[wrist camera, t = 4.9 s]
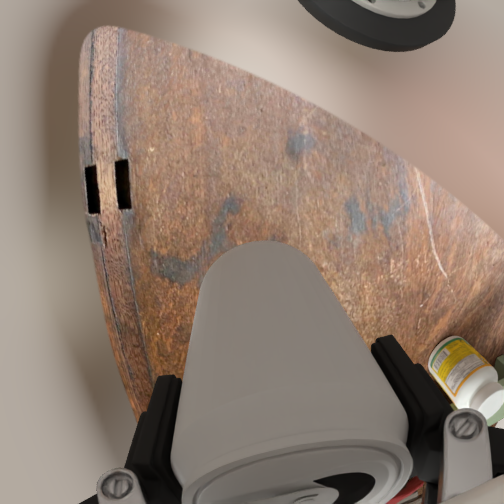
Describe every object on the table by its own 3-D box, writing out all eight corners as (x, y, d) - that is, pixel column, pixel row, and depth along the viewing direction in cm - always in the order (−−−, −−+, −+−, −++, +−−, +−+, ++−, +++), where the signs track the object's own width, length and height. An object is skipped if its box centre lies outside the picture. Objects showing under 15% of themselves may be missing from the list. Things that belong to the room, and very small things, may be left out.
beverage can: (322, 334, 18) (400, 517, 7) (212, 350, 18) (203, 551, 7) (316, 227, 16) (462, 389, 5) (188, 245, 16) (118, 449, 5)
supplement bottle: (425, 346, 29) (472, 401, 20) (464, 326, 29) (516, 373, 20) (427, 381, 31) (466, 436, 22) (463, 361, 30) (507, 409, 21)
